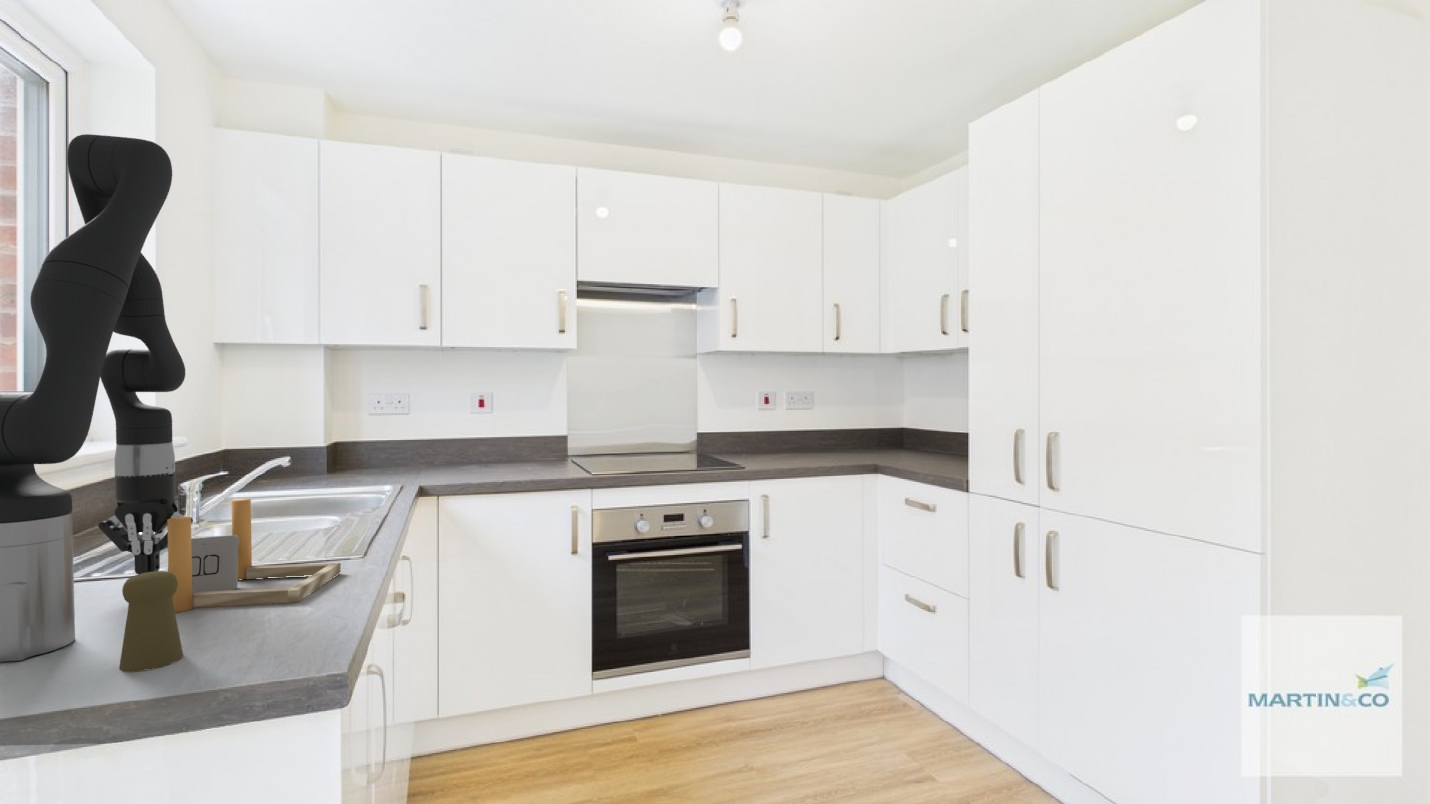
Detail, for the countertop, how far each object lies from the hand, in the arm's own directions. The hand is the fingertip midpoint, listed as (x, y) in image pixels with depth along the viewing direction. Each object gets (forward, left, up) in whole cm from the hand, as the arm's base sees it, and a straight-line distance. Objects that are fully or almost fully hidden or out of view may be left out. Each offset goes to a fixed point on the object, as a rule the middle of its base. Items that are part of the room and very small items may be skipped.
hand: (147, 575), depth 109 cm
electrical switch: (0, -8, -3) cm, 9 cm away
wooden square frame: (0, -18, -3) cm, 19 cm away
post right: (+8, -10, -3) cm, 13 cm away
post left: (-9, -10, -3) cm, 14 cm away
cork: (-30, -19, -3) cm, 36 cm away
